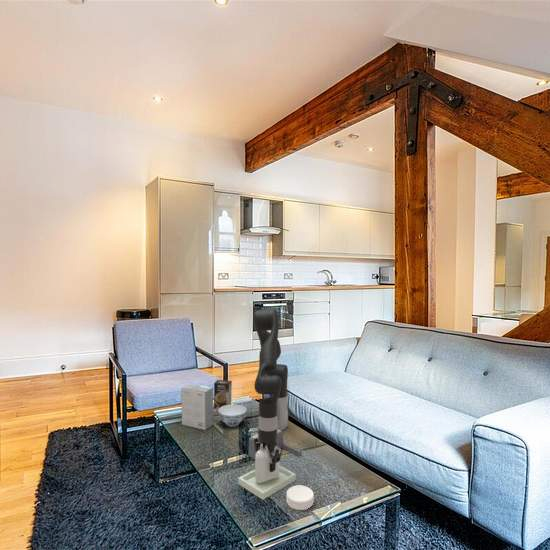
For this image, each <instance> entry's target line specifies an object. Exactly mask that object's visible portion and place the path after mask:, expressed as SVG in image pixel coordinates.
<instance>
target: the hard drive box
mask: <svg viewBox="0 0 550 550" xmlns="http://www.w3.org/2000/svg"><path fill="white" fill-rule="evenodd" d="M213 425H214V387H211V386H206V385H205V386H204V385H200V384H199V385H198V384H194V383H193V384H192V383H189V384H186V385H185V386H183V387H181V426H187V427H189V428H190V427H191V428H194V429H199V430H203V431H206V430H207V429H210V428H211V427H212V426H213Z"/></svg>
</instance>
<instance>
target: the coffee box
mask: <svg viewBox="0 0 550 550" xmlns="http://www.w3.org/2000/svg"><path fill="white" fill-rule="evenodd" d="M213 384H214V385H213V411H218V410H219V408H220V407H222V406H225V405H231V404H232V390H233V389H232V385H233V384H232V380H226V379H225V380H224V379H223V380H222V379H217V380H216V381H215V382H214V383H213Z"/></svg>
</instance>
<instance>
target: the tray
mask: <svg viewBox="0 0 550 550" xmlns="http://www.w3.org/2000/svg"><path fill="white" fill-rule="evenodd" d="M296 478H297V474H296V473H294V472H293V471H290V470H289V469H287V468H285V467H283V466H282V465H280V466H279V476H278V477H276V478H274V479H271V480H268V481H265V482H262V483H257V482H256V480H255V468H254V469H252V470H250V471H249V472H247V473H245V474H243V475H241V476H239V477H238V478H237V484H238V485H239V486H241V487H242V488H244V489H246V491H248V492H250V493H252V494H253V495H254V496H256V497H258V498H259V499H260V500H262V501H264V500H266V499H267V498H269V497H270V496H272V495H274V494H276V493H277V492H279V491H280V490H283V488H285V487H287V486H288V485H290V484H292V483H293V482H295V481H296V480H297V479H296Z"/></svg>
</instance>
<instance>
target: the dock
mask: <svg viewBox="0 0 550 550" xmlns="http://www.w3.org/2000/svg"><path fill="white" fill-rule="evenodd" d="M257 437H258V433H257V434H255V435H252V436H250V437H249V438H248V457H249V458H252V459H253V460H255V454H256V451H255V445H254V439H255V438H257ZM276 444H277V447H278V448H280V447H281V448H282V450H285V451H287V452H289V453H291V454H293V455H295V456H297V457H302V450H301V449H299V448H296V447H294V446H292V445H290V444H287V443H284V430H283V431H281V430H279V429H277V439H276ZM258 450H259V447H258Z"/></svg>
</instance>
